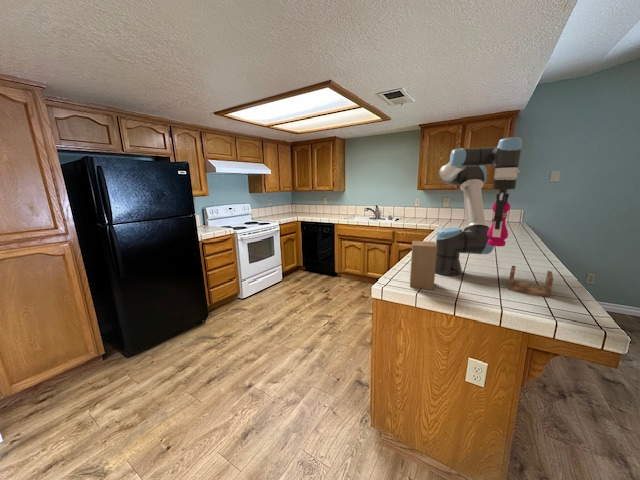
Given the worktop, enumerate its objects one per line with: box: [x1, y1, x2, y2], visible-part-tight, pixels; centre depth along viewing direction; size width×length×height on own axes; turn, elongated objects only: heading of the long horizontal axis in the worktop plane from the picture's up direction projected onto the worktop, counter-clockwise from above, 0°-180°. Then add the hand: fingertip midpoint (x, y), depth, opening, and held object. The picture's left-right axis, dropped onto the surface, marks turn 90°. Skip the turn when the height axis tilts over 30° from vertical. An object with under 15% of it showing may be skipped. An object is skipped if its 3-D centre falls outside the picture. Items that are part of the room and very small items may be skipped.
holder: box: [507, 265, 554, 298], centre depth 113 cm, size 14×11×8 cm
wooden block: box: [409, 240, 437, 291], centre depth 118 cm, size 10×10×20 cm
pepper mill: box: [487, 201, 511, 247], centre depth 106 cm, size 7×7×20 cm
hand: (497, 235), depth 107 cm, fingers closed on pepper mill, 7 cm apart
